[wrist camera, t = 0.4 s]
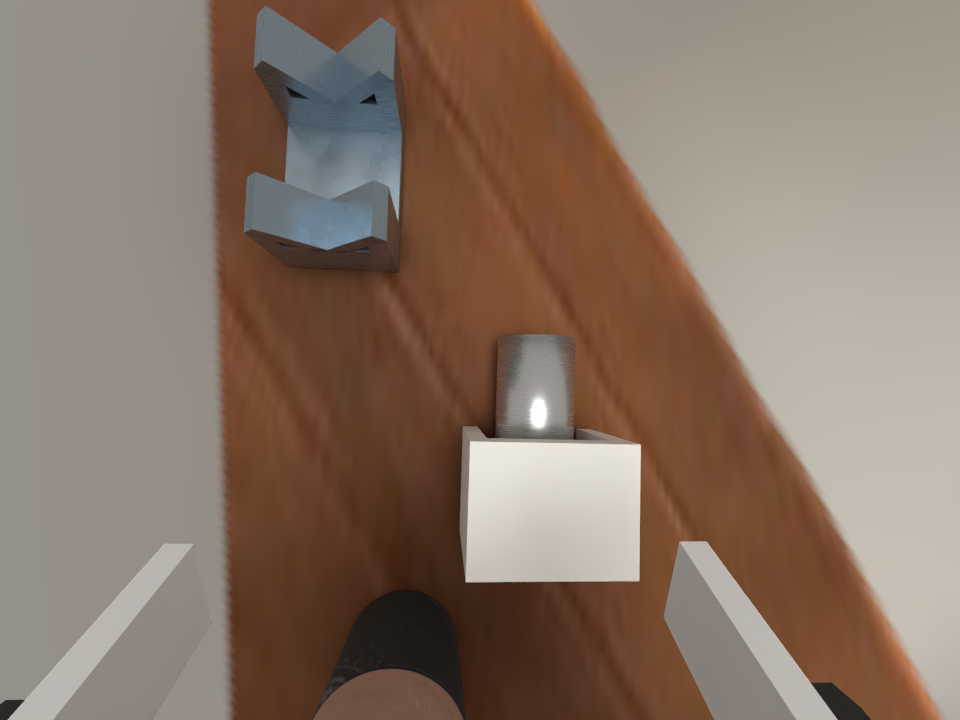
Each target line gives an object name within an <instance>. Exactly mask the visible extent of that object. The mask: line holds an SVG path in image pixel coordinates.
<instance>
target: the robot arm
mask: <svg viewBox="0 0 960 720" xmlns="http://www.w3.org/2000/svg"><path fill="white" fill-rule="evenodd" d="M664 619H665V621H666V623H667V625H668V627H669V629H670V631H671V633H672V635H673V637H674V639H675V641H676V643H677V645H678V647H679V649H680V651H681V653H682V655H683V657H684V659H685V661H686V663H687V665H688V667H689V670H690V672H691V674H692V676H693V678H694V680H695V682H696V684H697V686H698V688H699V690H700V692H701V694H702V696H703V698H704V700H705V702H706V704H707V706H708V708H709V710H710V712H711V714H712V716H713V718H714V720H871V719H870V718H869V717H868V716H867V715H866V713H865V712H864V711H863V710H862V708H861V707H859V706H858V705H857V704H856V703H855V702H854V701H852V700H851V699H850V698H849V697H848V696H847V695H845V694H844V693H843V692H842V691H841V690H840V689H838V688H837V687H836V686H835V685H834V684H833V683H810V682H809V680H808V679H807V677H806V676H805V675H804V673H803V672H802V671H801V669H800V668H799V667H798V665H797V664H796V663H795V661H794V660H793V658H792V657H791V656H790V654H789V653H788V652H787V650H786V649H785V648H784V646H783V645H782V643H781V642H780V641H779V639H778V638H777V637H776V635H775V634H774V633H773V631H772V630H771V629H770V627H769V626H768V624H767V623H766V622H765V620H764V619H763V618H762V616H761V615H760V614H759V612H758V611H757V610H756V608H755V607H754V605H753V604H752V603H751V601H750V600H749V599H748V597H747V596H746V595H745V593H744V592H743V591H742V589H741V588H740V586H739V585H738V584H737V582H736V581H735V580H734V578H733V577H732V576H731V574H730V573H729V571H728V570H727V569H726V567H725V566H724V565H723V563H722V562H721V561H720V559H719V558H718V557H717V555H716V554H715V552H714V551H713V550H712V548H711V547H710V546H709V544H708V543H707V542H679V547H678V552H677V556H676V561H675V566H674V570H673V575H672V580H671V584H670V589H669V594H668V599H667V603H666V608H665V613H664ZM210 624H211V618H210V614H209V610H208V605H207V600H206V596H205V591H204V587H203V582H202V578H201V573H200V569H199V564H198V559H197V555H196V550H195V546H194V544H164V545H163V546H162V547H161V548H160V549H159V550H158V551H157V553H156V554H155V555H154V556H153V557H152V558H151V559H150V560H149V562H148V563H147V564H146V565H145V566H144V567H143V568H142V569H141V571H140V572H139V573H138V574H137V575H136V576H135V577H134V578H133V580H132V581H131V582H130V583H129V584H128V585H127V586H126V587H125V588H124V590H123V591H122V592H121V593H120V594H119V595H118V596H117V597H116V599H115V600H114V601H113V602H112V603H111V604H110V606H108V608H107V609H106V610H105V611H104V612H103V613H102V614H101V615H100V617H99V618H98V619H97V620H96V621H95V622H94V623H93V624H92V626H91V627H90V628H89V629H88V630H87V631H86V632H85V633H84V634H83V636H82V637H81V638H80V639H79V640H78V641H77V642H76V643H75V645H74V646H73V647H72V648H71V649H70V650H69V651H68V652H67V654H66V655H65V656H64V657H63V658H62V659H61V660H60V661H59V663H58V664H57V665H56V666H55V667H54V668H53V669H52V671H51V672H50V673H49V674H48V675H47V676H46V677H45V678H44V680H43V681H42V682H41V683H40V684H39V685H38V686H37V687H36V688H35V689H34V691H33V692H32V693H31V694H30V695H29V696H28V697H27V698H26V700H5V701H4V702H3V703H1V704H0V720H153V718H154V716H155V715H156V713H157V711H158V710H159V708H160V706H161V705H162V703H163V702H164V700H165V698H166V697H167V695H168V693H169V692H170V690H171V688H172V687H173V685H174V683H175V682H176V680H177V679H178V677H179V675H180V674H181V672H182V670H183V669H184V667H185V665H186V664H187V662H188V660H189V659H190V657H191V655H192V654H193V652H194V650H195V649H196V647H197V645H198V644H199V642H200V641H201V639H202V637H203V636H204V634H205V632H206V631H207V629H208V627H209V626H210Z"/></svg>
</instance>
